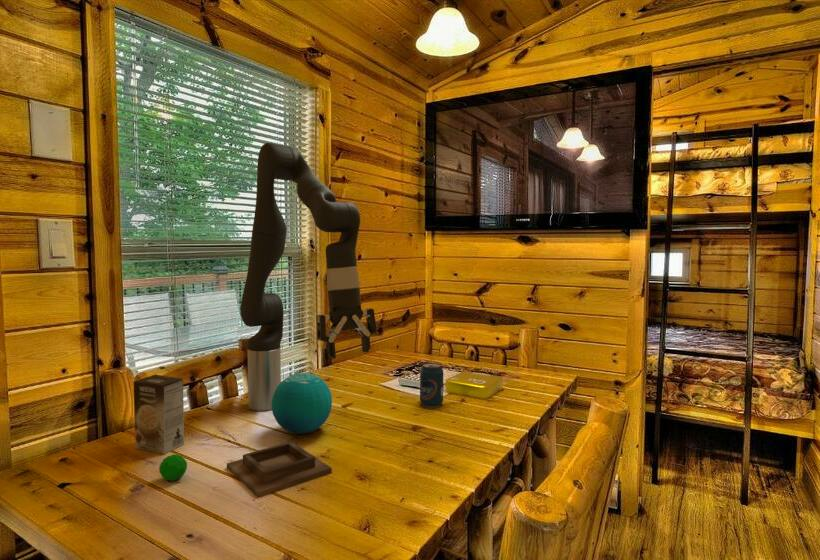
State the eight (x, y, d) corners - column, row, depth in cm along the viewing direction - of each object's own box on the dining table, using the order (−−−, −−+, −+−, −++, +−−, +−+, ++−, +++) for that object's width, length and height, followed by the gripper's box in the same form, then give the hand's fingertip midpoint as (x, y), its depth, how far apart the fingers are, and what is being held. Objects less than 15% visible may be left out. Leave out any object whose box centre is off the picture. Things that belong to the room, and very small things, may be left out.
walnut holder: (226, 467, 103) (226, 454, 103) (295, 448, 114) (295, 435, 113) (257, 497, 91) (257, 482, 91) (331, 472, 101) (331, 458, 101)
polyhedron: (169, 487, 95) (168, 463, 95) (154, 480, 98) (153, 457, 97) (192, 477, 99) (191, 454, 99) (177, 471, 102) (177, 449, 101)
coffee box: (133, 449, 113) (131, 380, 111) (156, 438, 119) (154, 374, 117) (164, 454, 110) (162, 384, 108) (186, 444, 116) (184, 377, 114)
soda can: (416, 406, 144) (416, 366, 143) (424, 399, 150) (424, 361, 149) (438, 409, 141) (439, 368, 140) (446, 402, 148) (446, 363, 147)
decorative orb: (259, 438, 119) (258, 378, 118) (294, 418, 133) (293, 364, 132) (312, 447, 114) (312, 384, 113) (342, 425, 128) (342, 369, 127)
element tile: (504, 389, 163) (504, 375, 163) (485, 401, 150) (486, 385, 150) (463, 382, 171) (463, 369, 171) (443, 393, 158) (443, 378, 158)
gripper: (363, 284, 122) (369, 348, 122) (309, 289, 114) (315, 358, 115) (377, 284, 115) (383, 352, 116) (320, 289, 108) (327, 362, 108)
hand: (349, 355), depth 115 cm, fingers open, 8 cm apart
